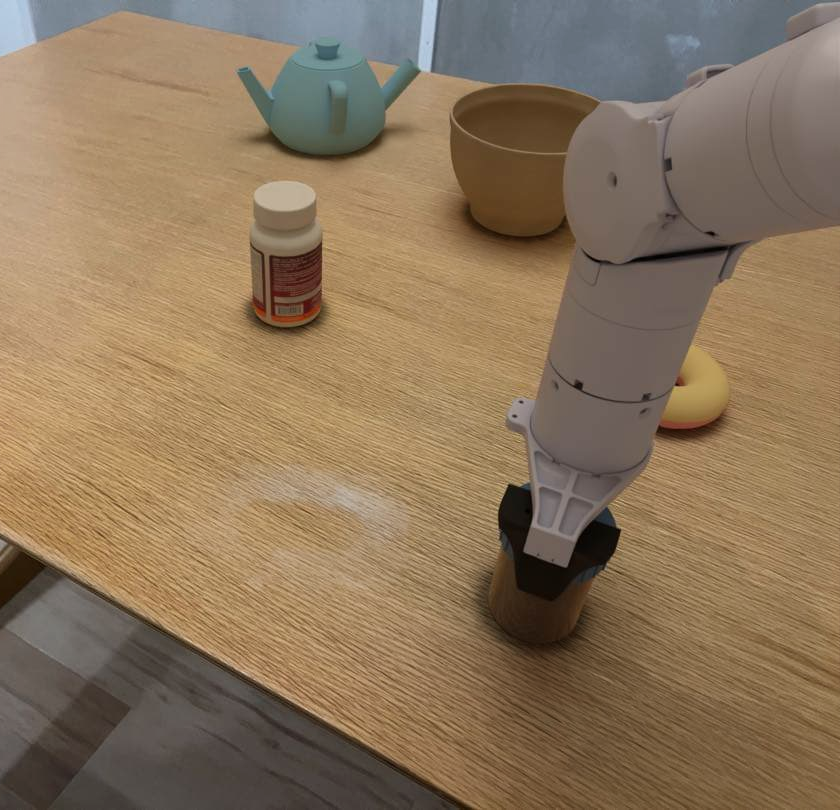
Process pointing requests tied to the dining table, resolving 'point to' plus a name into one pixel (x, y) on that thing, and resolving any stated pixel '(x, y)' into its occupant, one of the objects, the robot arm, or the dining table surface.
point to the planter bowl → (515, 153)
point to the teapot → (327, 98)
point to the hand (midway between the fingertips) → (551, 547)
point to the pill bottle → (286, 254)
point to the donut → (697, 392)
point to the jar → (533, 606)
